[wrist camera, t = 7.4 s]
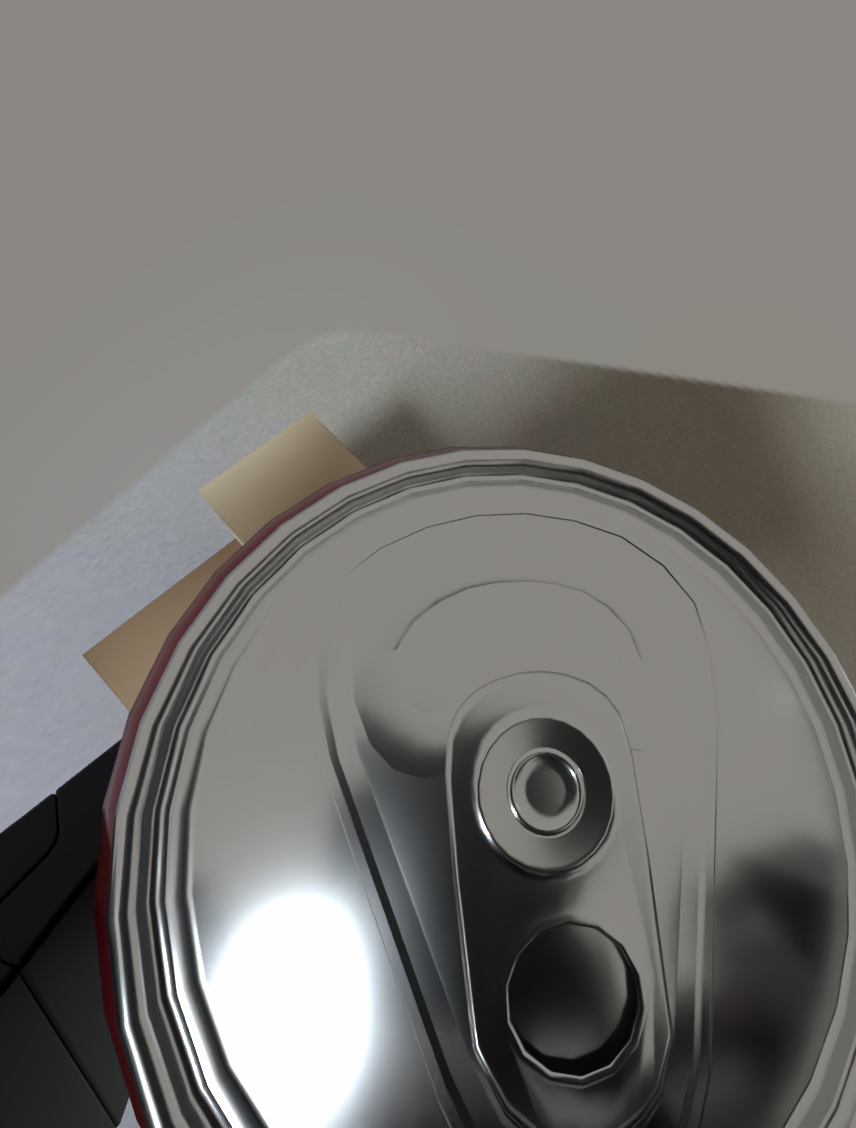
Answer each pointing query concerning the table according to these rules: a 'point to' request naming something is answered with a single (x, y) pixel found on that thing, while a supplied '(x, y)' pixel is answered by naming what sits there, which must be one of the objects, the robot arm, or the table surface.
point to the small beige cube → (278, 476)
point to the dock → (149, 632)
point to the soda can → (486, 821)
